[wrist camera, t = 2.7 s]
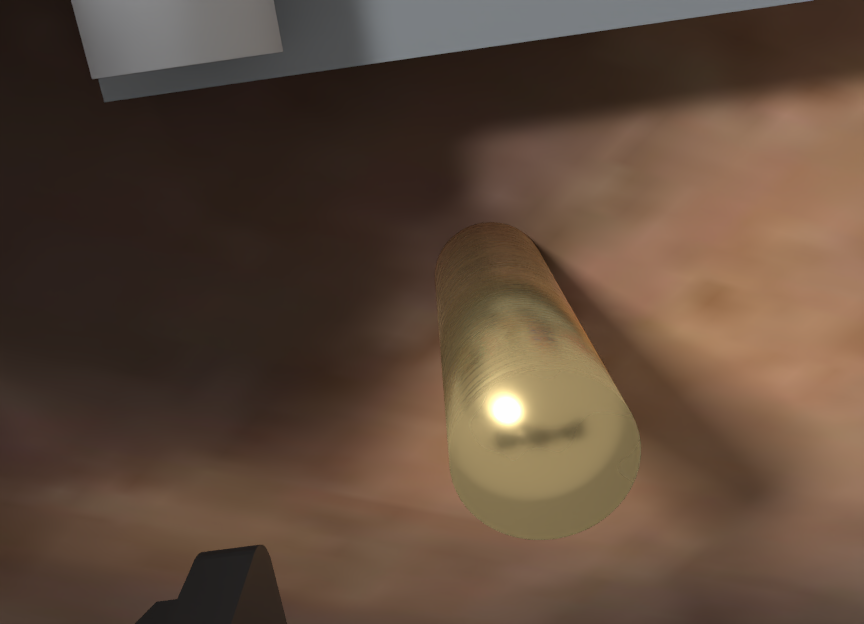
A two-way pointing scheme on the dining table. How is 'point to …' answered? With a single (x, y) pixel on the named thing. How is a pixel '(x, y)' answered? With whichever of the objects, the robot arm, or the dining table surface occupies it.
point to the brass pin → (526, 393)
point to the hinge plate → (329, 34)
